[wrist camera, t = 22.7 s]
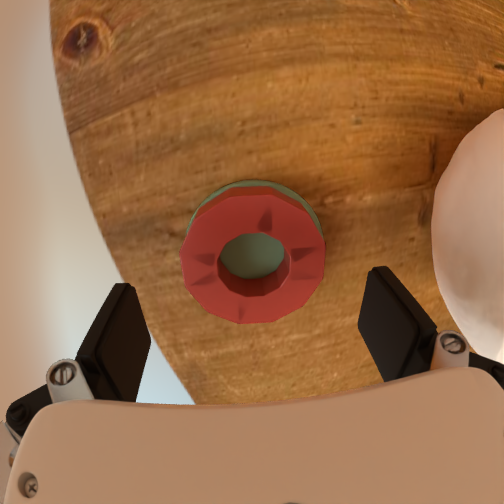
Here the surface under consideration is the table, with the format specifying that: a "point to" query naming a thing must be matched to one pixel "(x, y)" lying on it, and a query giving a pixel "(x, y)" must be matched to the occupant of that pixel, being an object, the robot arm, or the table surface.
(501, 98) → the table surface
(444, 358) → the robot arm
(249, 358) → the table surface
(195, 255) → the red ring
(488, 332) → the skull planter
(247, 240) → the coaster
